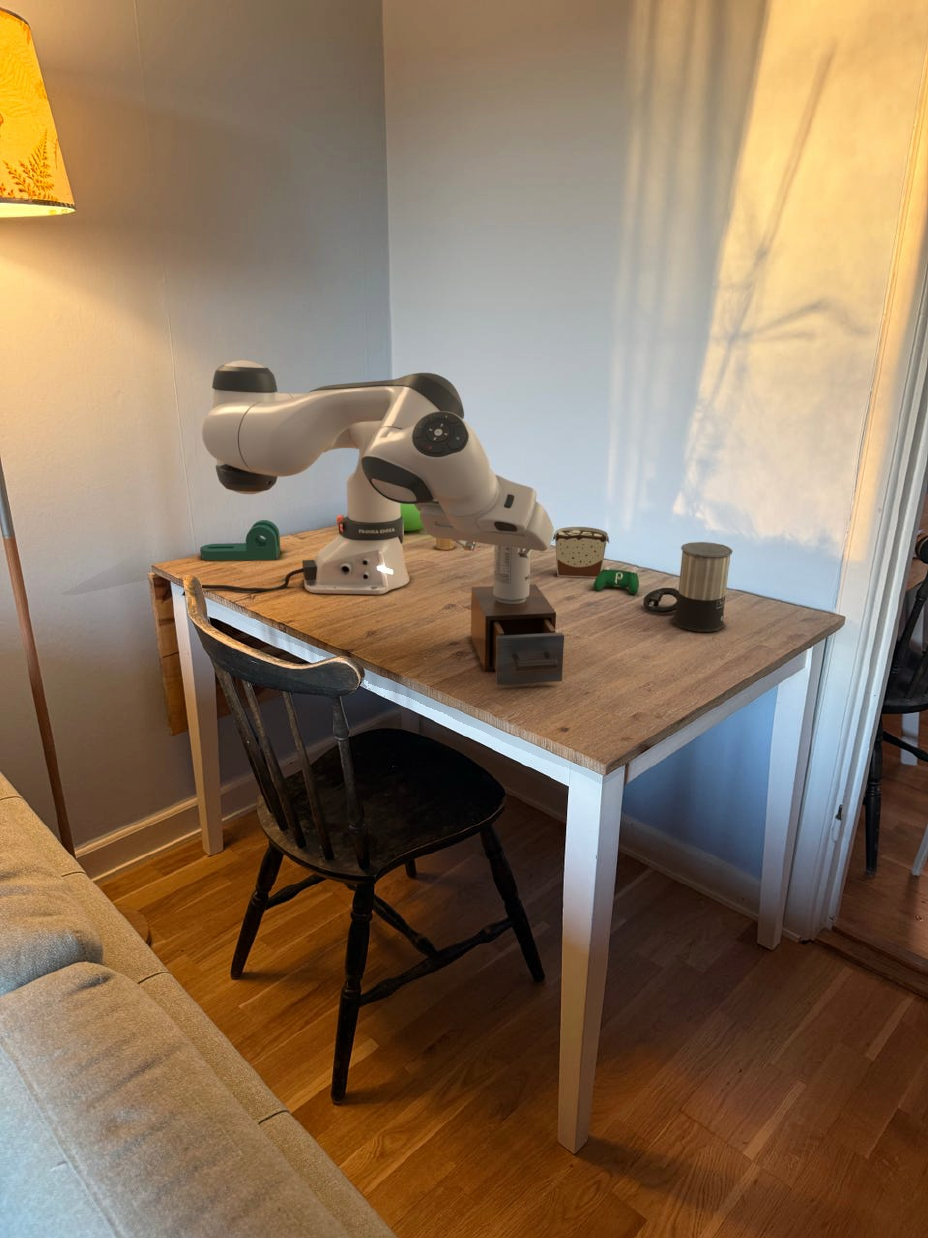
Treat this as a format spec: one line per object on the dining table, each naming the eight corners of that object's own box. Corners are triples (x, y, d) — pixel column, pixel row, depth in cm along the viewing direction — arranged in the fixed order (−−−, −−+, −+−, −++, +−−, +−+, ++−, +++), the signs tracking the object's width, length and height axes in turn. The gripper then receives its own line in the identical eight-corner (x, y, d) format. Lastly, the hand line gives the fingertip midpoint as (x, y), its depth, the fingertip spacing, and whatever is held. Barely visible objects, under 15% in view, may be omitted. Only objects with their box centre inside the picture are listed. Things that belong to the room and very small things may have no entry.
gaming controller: (637, 600, 173) (642, 575, 175) (637, 592, 169) (641, 566, 172) (594, 595, 176) (598, 571, 178) (592, 587, 172) (597, 562, 175)
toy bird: (364, 535, 213) (362, 479, 208) (381, 520, 228) (379, 467, 223) (433, 539, 210) (432, 482, 205) (445, 523, 226) (445, 469, 221)
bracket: (280, 551, 199) (278, 519, 196) (276, 559, 192) (274, 527, 190) (204, 552, 197) (201, 520, 195) (198, 561, 191) (194, 527, 188)
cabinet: (553, 667, 136) (556, 612, 133) (484, 670, 135) (485, 616, 131) (533, 634, 150) (535, 584, 147) (470, 637, 148) (471, 587, 145)
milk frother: (721, 636, 150) (731, 557, 144) (634, 624, 155) (641, 548, 150) (726, 611, 162) (736, 537, 157) (646, 601, 167) (652, 530, 162)
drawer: (570, 694, 125) (572, 647, 122) (502, 698, 123) (503, 650, 120) (541, 648, 142) (543, 605, 139) (482, 651, 140) (482, 608, 137)
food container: (605, 569, 187) (608, 526, 183) (606, 578, 181) (610, 534, 178) (550, 567, 188) (552, 525, 184) (550, 576, 182) (552, 532, 179)
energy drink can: (534, 603, 137) (537, 515, 132) (499, 606, 135) (502, 517, 130) (521, 592, 142) (524, 506, 137) (488, 595, 141) (490, 508, 136)
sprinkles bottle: (437, 550, 200) (436, 496, 196) (434, 545, 205) (434, 492, 200) (455, 549, 201) (455, 495, 196) (452, 544, 205) (452, 491, 201)
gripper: (402, 512, 121) (432, 559, 133) (533, 528, 113) (553, 576, 125) (416, 477, 123) (444, 526, 135) (545, 489, 115) (564, 540, 127)
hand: (498, 550), depth 130 cm, fingers open, 8 cm apart
